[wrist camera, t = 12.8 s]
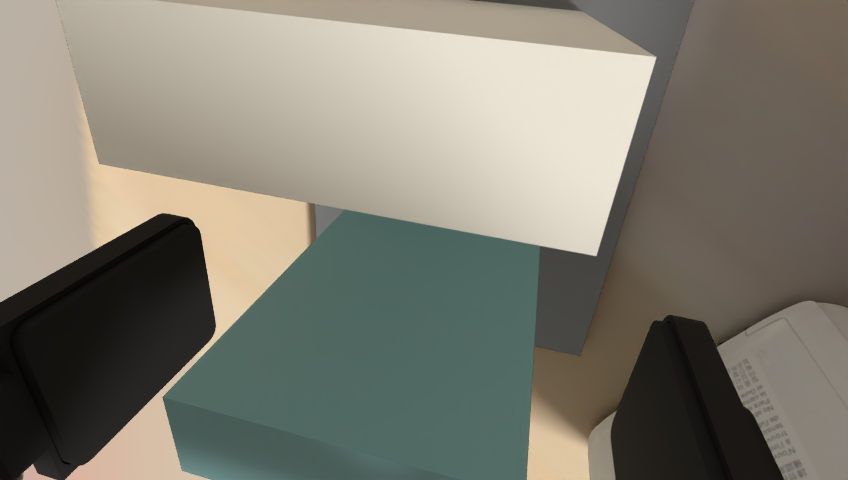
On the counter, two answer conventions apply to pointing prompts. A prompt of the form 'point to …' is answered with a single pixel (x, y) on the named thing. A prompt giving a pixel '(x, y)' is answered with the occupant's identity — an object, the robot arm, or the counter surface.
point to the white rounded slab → (782, 391)
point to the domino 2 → (372, 363)
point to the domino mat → (584, 274)
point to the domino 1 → (371, 106)
